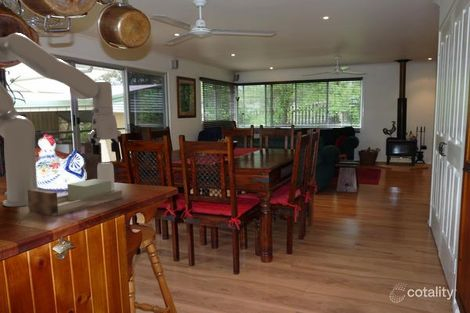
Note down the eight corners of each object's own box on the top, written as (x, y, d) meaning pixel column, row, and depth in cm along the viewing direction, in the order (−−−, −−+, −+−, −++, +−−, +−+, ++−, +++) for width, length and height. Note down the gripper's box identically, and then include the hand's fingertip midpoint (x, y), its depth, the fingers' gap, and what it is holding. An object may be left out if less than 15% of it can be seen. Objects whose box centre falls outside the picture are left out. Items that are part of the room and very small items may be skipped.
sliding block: (68, 199, 134) (67, 184, 133) (94, 193, 144) (94, 178, 144) (85, 202, 129) (84, 186, 129) (111, 195, 140) (110, 180, 139)
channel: (28, 212, 122) (27, 189, 121) (100, 194, 149) (99, 176, 148) (52, 216, 117) (51, 193, 116) (122, 197, 143) (121, 178, 142)
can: (109, 192, 151) (108, 163, 150) (95, 192, 153) (93, 163, 151) (117, 189, 158) (116, 161, 156) (103, 189, 159) (102, 161, 158)
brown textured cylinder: (90, 183, 172) (88, 140, 170) (105, 183, 172) (103, 140, 170) (83, 186, 165) (80, 141, 162) (99, 186, 164) (97, 141, 162)
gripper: (92, 112, 142) (95, 156, 144) (125, 111, 157) (127, 151, 159) (79, 112, 146) (82, 155, 148) (112, 111, 161) (114, 150, 163)
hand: (105, 153), depth 154 cm, fingers open, 9 cm apart
